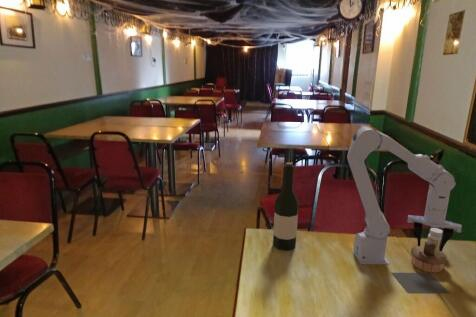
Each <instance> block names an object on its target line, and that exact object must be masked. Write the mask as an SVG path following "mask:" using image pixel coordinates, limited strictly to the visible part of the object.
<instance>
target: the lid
mask: <svg viewBox="0 0 476 317" xmlns="http://www.w3.org/2000/svg"><path fill="white" fill-rule="evenodd" d="M435 246H436V244H435V243H433V242H430V241H427V240H426V241H425V242H424V244H423V245H420V247H419V246H418V245H414V246H413V247H411V249H410V255H411V257H412V256H413V257H414V258H416V259H417V260H419V261H422V262H424V263H428V264H433V265H441V264H444V265H445V264H446V263H447V259H448V257H447V254H445V253H444V252H443V251H442V252H441V251H439V250H437V249H435Z"/></svg>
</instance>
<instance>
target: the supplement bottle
mask: <svg viewBox="0 0 476 317" xmlns="http://www.w3.org/2000/svg"><path fill="white" fill-rule="evenodd" d="M442 231H443V229H442V228H435V227H430V229H429V233H428V235H427V240H426V241H430V242H433V243H435V244H436V246H435V249H437V250H439V246H440V242H441V238H442ZM441 252H443V250H442V251H441Z"/></svg>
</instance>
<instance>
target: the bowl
mask: <svg viewBox="0 0 476 317" xmlns="http://www.w3.org/2000/svg"><path fill="white" fill-rule="evenodd" d="M410 262H411V264H412V265H413V266H415V268H418V269H420V270H422V271H426V272H428V273H440V272H442V270H444V265H445V263H444V264H441V265H433V264H428V263H424V262H422V261H419V260H417V259H416V258H414V257H413V256H412V255H411V260H410Z"/></svg>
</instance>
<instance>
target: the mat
mask: <svg viewBox="0 0 476 317" xmlns="http://www.w3.org/2000/svg"><path fill="white" fill-rule="evenodd" d="M391 275H392V276H393V277H394V278H395V280H396V281H397V282H398V283H399V284H400V285H401V287H402V288H403V289H404V290H405V292H406V293H407V294H451V293H450V291H449V290H448V289H447V288H445V286H444V285H442V284H441V282H440V281H439V280H438V279H437V278H435V277H434V276H433V275H432V274H431V272H391Z"/></svg>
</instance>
